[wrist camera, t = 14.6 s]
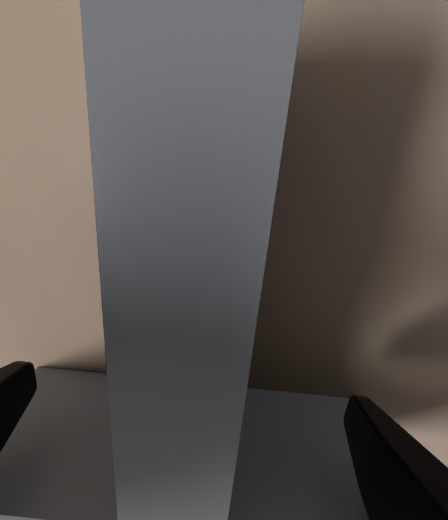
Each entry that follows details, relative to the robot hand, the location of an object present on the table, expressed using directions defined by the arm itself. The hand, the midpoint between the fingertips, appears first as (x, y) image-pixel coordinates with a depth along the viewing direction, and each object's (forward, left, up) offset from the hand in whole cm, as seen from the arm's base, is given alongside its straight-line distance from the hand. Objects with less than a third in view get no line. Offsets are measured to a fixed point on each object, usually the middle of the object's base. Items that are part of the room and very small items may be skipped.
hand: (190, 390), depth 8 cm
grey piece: (0, -3, -2) cm, 3 cm away
